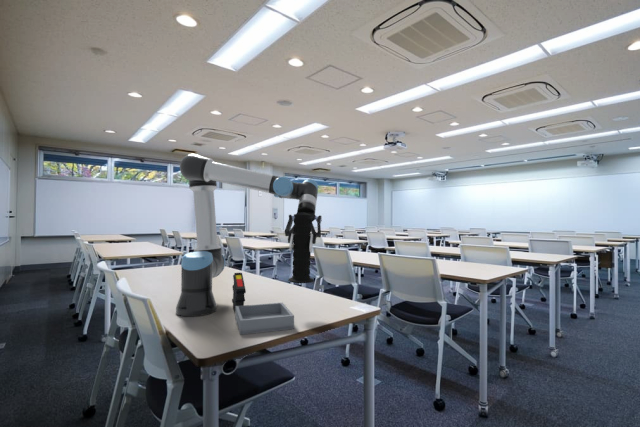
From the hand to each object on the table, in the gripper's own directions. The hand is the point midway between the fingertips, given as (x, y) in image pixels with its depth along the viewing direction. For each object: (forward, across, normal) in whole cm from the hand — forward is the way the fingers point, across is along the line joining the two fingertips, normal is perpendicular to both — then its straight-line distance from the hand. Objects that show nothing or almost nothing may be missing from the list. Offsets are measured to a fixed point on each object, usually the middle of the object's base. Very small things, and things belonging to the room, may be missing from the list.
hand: (300, 249), depth 120 cm
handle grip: (+6, 0, -12) cm, 13 cm away
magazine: (+14, +26, -24) cm, 38 cm away
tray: (+23, +12, -15) cm, 30 cm away
